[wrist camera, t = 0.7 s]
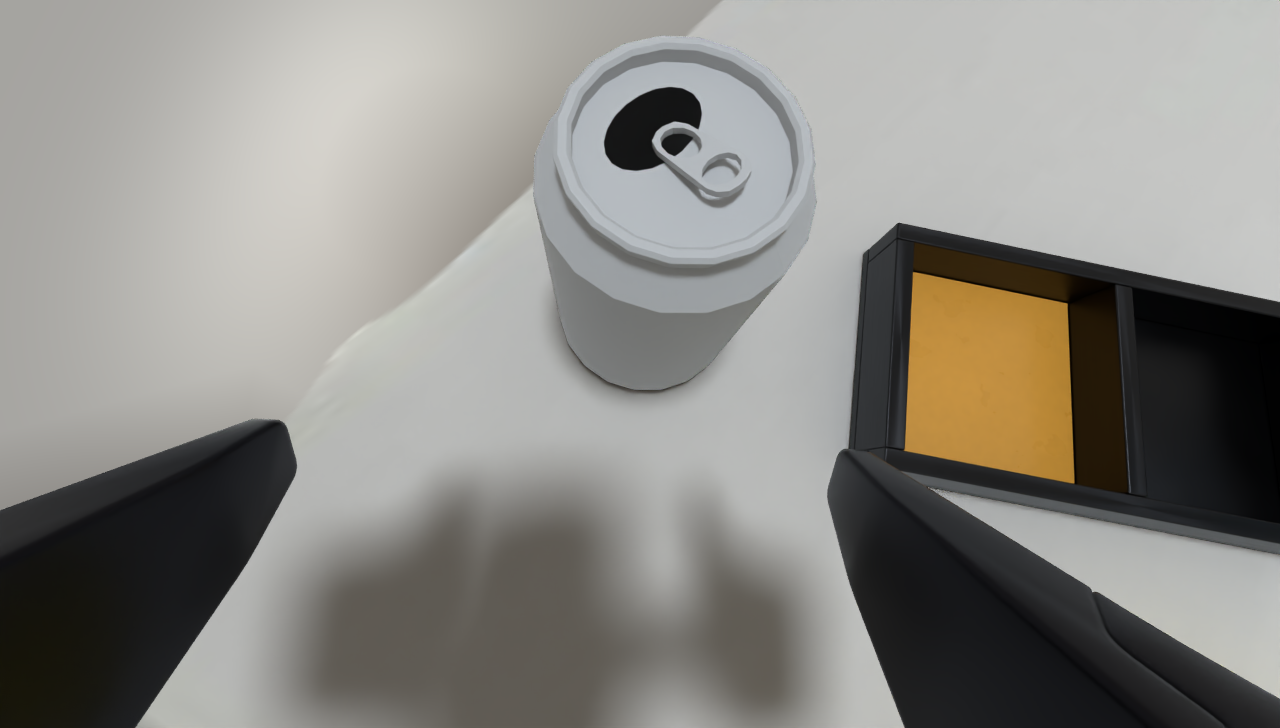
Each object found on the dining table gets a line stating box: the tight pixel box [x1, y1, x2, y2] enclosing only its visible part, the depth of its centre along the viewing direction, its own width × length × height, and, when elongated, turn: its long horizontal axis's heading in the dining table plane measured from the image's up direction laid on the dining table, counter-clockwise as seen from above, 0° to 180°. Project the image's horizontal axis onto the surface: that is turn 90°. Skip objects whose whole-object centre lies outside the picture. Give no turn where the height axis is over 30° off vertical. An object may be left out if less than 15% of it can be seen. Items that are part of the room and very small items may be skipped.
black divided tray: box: [850, 223, 1280, 554], centre depth 23 cm, size 11×20×3 cm, turn 80°
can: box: [533, 36, 817, 390], centre depth 18 cm, size 8×8×12 cm
